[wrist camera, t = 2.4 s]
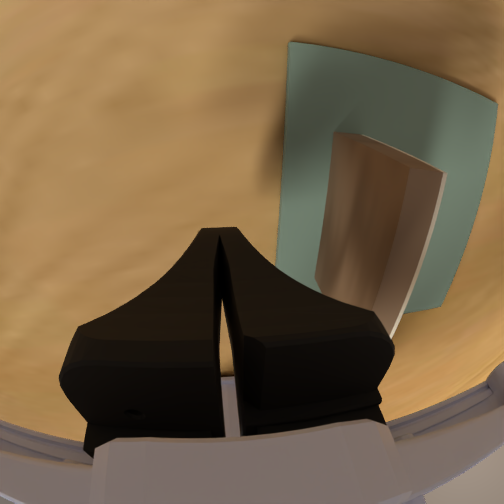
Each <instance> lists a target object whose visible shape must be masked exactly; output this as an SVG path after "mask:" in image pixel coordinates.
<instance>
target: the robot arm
mask: <svg viewBox="0 0 504 504" xmlns="http://www.w3.org/2000/svg"><path fill="white" fill-rule="evenodd" d="M222 301H223V306H224V312H225V317H226V322H227V328H228V333H229V338H230V343H231V349H232V356H233V367H234V376H233V377H221V372H220V356H219V345H220V325H221V306H222ZM394 355H395V346H394V344H393V342H392V340H391V338H390V336H389V334H388V333H387V331H386V329H385V327H384V325H383V324H382V322H381V321H380V319H379V318H378V316H377V315H376V314H375V312H374V311H371V310H367V309H364V308H360V307H357V306H354V305H350V304H347V303H344V302H341V301H339V300H336V299H334V298H331V297H329V296H326V295H324V294H321V293H319V292H317V291H315V290H313V289H311V288H309V287H307V286H305V285H303V284H301V283H300V282H298V281H296V280H294V279H293V278H291V277H290V276H288V275H287V274H285V273H284V272H282V271H281V270H279V269H278V268H277V267H275V266H274V265H273V264H271V263H270V262H269V261H268V260H267V259H266V258H264V257H263V256H262V255H261V254H260V253H259V252H258V251H257V250H256V249H255V248H254V247H253V246H252V245H251V243H250V242H249V241H248V240H247V239H246V238H245V237H244V235H243V234H242V233H241V232H240V230H239V229H238V228H237V227H221V228H202V229H201V230H200V231H199V232H198V234H197V236H196V237H195V239H194V240H193V242H192V243H191V245H190V246H189V247H188V249H187V250H186V251H185V252H184V254H183V255H182V256H181V258H180V259H179V260H178V261H177V262H176V263H175V264H174V265H173V267H172V268H171V269H170V270H169V271H168V272H167V273H166V274H165V275H164V276H163V277H161V278H160V279H159V280H158V281H157V282H156V283H154V284H153V285H152V286H150V287H149V288H148V289H146V290H145V291H144V292H142V293H141V294H139V295H138V296H137V297H135V298H134V299H132V300H130V301H129V302H127V303H126V304H124V305H122V306H120V307H119V308H117V309H115V310H113V311H111V312H109V313H107V314H105V315H103V316H101V317H99V318H97V319H94V320H92V321H90V322H88V323H86V324H83V325H81V326H78V328H77V330H76V332H75V334H74V336H73V338H72V341H71V343H70V346H69V349H68V351H67V354H66V357H65V360H64V363H63V366H62V369H61V372H60V375H59V382H60V386H61V388H62V390H63V391H64V393H65V395H66V396H67V398H68V399H69V400H70V402H71V403H72V404H73V406H74V407H75V408H76V409H77V410H78V412H79V413H80V414H81V415H82V416H83V418H84V419H85V420H86V421H87V422H88V423H87V429H86V434H85V440H84V442H80V441H75V440H70V439H65V438H61V437H56V436H52V435H48V434H44V433H41V432H37V431H33V430H30V429H27V428H23V427H20V426H17V425H14V424H11V423H8V422H5V421H2V420H0V496H2V497H3V498H5V499H7V500H9V501H11V502H14V503H15V504H426V501H425V498H424V496H423V495H425V494H427V493H429V492H430V491H432V490H434V489H436V488H438V487H440V486H441V485H443V484H445V483H447V482H449V481H450V480H452V479H454V478H456V477H457V476H459V475H461V474H462V473H464V472H465V471H467V470H468V469H470V468H472V467H473V466H475V465H476V464H478V463H479V462H481V461H482V460H483V459H485V458H486V457H488V456H489V455H490V454H492V453H493V452H495V450H497V449H498V448H500V447H501V446H502V445H504V361H503V362H502V363H500V364H499V365H498V366H497V367H496V368H495V369H494V370H493V371H492V372H491V373H490V375H489V376H488V378H487V380H486V381H484V382H482V383H480V384H479V385H477V386H475V387H473V388H471V389H469V390H466V391H464V392H462V393H460V394H458V395H456V396H454V397H451V398H449V399H447V400H445V401H442V402H440V403H438V404H435V405H433V406H430V407H428V408H425V409H423V410H420V411H417V412H415V413H412V414H409V415H406V416H404V417H401V418H398V419H395V420H392V421H389V422H385V420H384V417H383V415H382V413H381V410H380V408H379V404H380V403H381V402H382V397H381V395H380V393H379V391H378V389H377V387H378V386H379V384H380V382H381V381H382V379H383V377H384V376H385V374H386V372H387V370H388V369H389V367H390V365H391V362H392V360H393V357H394Z"/></svg>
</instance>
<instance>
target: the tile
mask: <svg viewBox="0 0 504 504" xmlns="http://www.w3.org/2000/svg"><path fill="white" fill-rule="evenodd" d="M447 174H448V173H446V172H444V171H442V170H440V169H438V168H436V167H434V166H432V165H430V164H428V163H426V162H424V161H422V160H420V159H418V158H416V157H414V156H412V155H410V154H408V153H405V152H403V151H401V150H399V149H397V148H394V147H392V146H390V145H387V144H385V143H383V142H380V141H378V140H375V139H373V138H371V137H368V136H365V135H360V134H352V133H343V132H333V143H332V153H331V162H330V171H329V180H328V188H327V196H326V204H325V211H324V218H323V225H322V232H321V239H320V245H319V252H318V258H317V264H316V270H315V276H314V278H315V280H316V282H317V284H318V286H319V288H320V290H321V293H322V294H324V295H326V296H329V297H331V298H334V299H336V300H339V301H341V302H344V303H347V304H350V305H354V306H357V307H360V308H364V309H367V310H371V311H374V312H375V314H376V315H377V316H378V318H379V319H380V321H381V322H382V324H383V325H384V327H385V329H386V331H387V333H388V334H389V336H390V338H391V339H392V337H393V335H394V333H395V330H396V328H397V326H398V324H399V322H400V319H401V317H402V315H403V312H404V310H405V308H406V305H407V303H408V300H409V298H410V295H411V293H412V290H413V288H414V285H415V283H416V280H417V277H418V275H419V272H420V269H421V266H422V263H423V260H424V258H425V255H426V252H427V249H428V245H429V242H430V239H431V236H432V233H433V229H434V226H435V222H436V219H437V215H438V211H439V208H440V204H441V200H442V196H443V192H444V187H445V183H446V178H447Z"/></svg>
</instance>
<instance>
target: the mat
mask: <svg viewBox="0 0 504 504" xmlns="http://www.w3.org/2000/svg"><path fill="white" fill-rule="evenodd" d="M497 108H498V104H497V103H495V102H493V101H491V100H489V99H488V98H486V97H484V96H481V95H479V94H477V93H475V92H473V91H471V90H469V89H467V88H464V87H462V86H460V85H457V84H455V83H453V82H450V81H448V80H445V79H443V78H440V77H438V76H435V75H432V74H429V73H427V72H424V71H421V70H418V69H415V68H412V67H409V66H406V65H403V64H399V63H396V62H392V61H389V60H385V59H382V58H378V57H374V56H370V55H366V54H361V53H357V52H352V51H347V50H342V49H337V48H331V47H325V46H319V45H312V44H305V43H297V42H289V43H288V59H287V85H286V108H285V128H284V147H283V164H282V180H281V195H280V210H279V224H278V238H277V251H276V263H275V267H277V268H278V269H279V270H281V271H282V272H284V273H285V274H287V275H288V276H290V277H291V278H293V279H294V280H296V281H298V282H300V283H301V284H303V285H305V286H307V287H309V288H311V289H313V290H315V291H317V292H319V293H321V290H320V288H319V286H318V284H317V282H316V280H315V278H314V276H315V270H316V264H317V258H318V252H319V245H320V239H321V232H322V225H323V218H324V211H325V204H326V196H327V188H328V180H329V171H330V162H331V153H332V143H333V132H343V133H352V134H360V135H365V136H368V137H371V138H373V139H375V140H378V141H380V142H383V143H385V144H387V145H390V146H392V147H394V148H397V149H399V150H401V151H403V152H405V153H408V154H410V155H412V156H414V157H416V158H418V159H420V160H422V161H424V162H426V163H428V164H430V165H432V166H434V167H436V168H438V169H440V170H442V171H444V172H446V173H448V174H447V178H446V183H445V187H444V192H443V196H442V200H441V204H440V208H439V211H438V215H437V219H436V222H435V226H434V229H433V233H432V236H431V239H430V242H429V245H428V249H427V252H426V255H425V258H424V260H423V263H422V266H421V269H420V272H419V275H418V277H417V280H416V283H415V285H414V288H413V290H412V293H411V295H410V298H409V300H408V303H407V305H406V308H405V310H404V312H403V314H405V313H411V312H416V311H421V310H427V309H432V308H437V307H441V305H442V303H443V301H444V299H445V297H446V294H447V292H448V290H449V288H450V285H451V283H452V281H453V278H454V276H455V273H456V271H457V269H458V266H459V264H460V261H461V258H462V256H463V253H464V250H465V248H466V245H467V242H468V239H469V236H470V233H471V230H472V227H473V224H474V221H475V217H476V214H477V211H478V207H479V204H480V200H481V196H482V192H483V188H484V184H485V180H486V176H487V171H488V167H489V162H490V157H491V151H492V146H493V139H494V133H495V126H496V118H497ZM321 294H322V293H321Z"/></svg>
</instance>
